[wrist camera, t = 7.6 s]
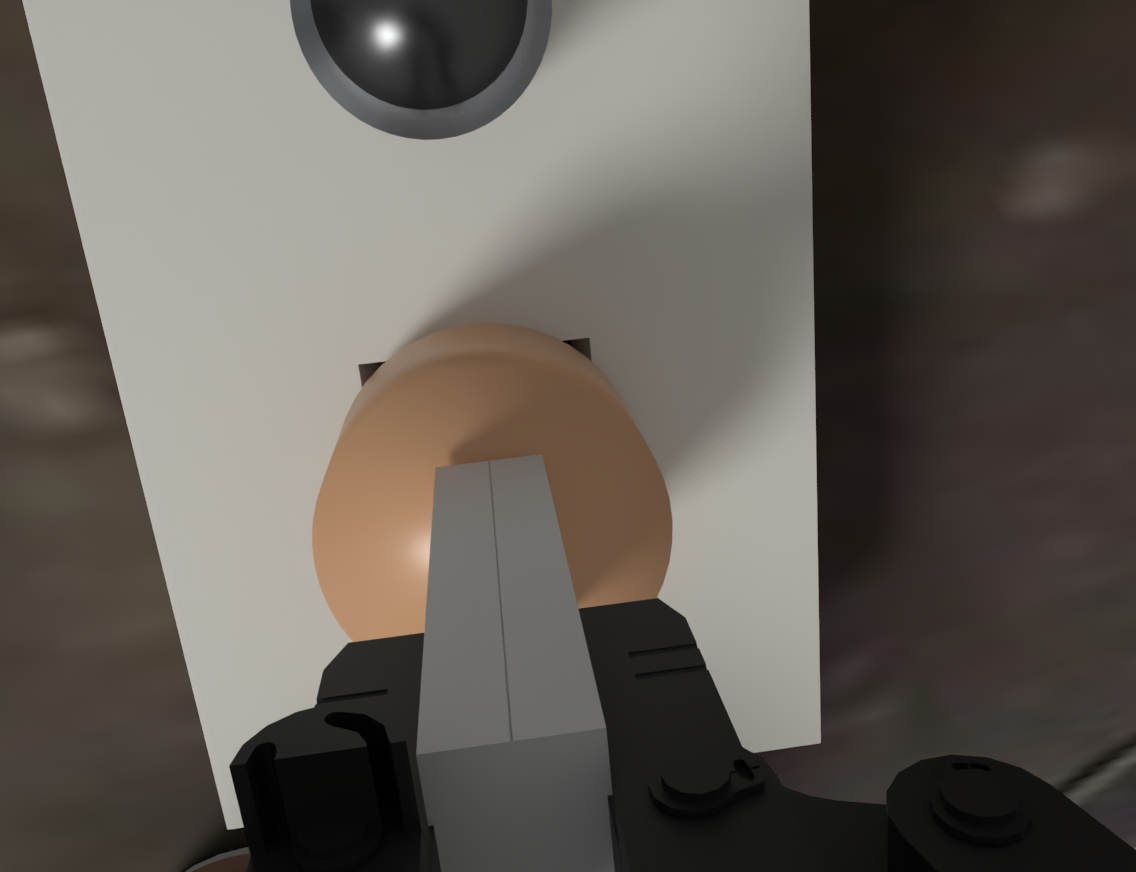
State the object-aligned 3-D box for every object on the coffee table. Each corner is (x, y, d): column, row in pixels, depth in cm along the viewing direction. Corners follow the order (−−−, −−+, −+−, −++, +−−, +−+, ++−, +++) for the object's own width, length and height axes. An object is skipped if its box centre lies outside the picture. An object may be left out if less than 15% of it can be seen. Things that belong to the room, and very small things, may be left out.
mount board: (264, 713, 24) (227, 829, 20) (-103, -934, 15) (-299, -1295, 11) (764, 644, 24) (820, 743, 21) (707, -957, 15) (788, -1302, 12)
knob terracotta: (379, 534, 22) (344, 721, 15) (339, 297, 20) (281, 392, 14) (615, 504, 22) (682, 673, 16) (595, 269, 21) (660, 347, 14)
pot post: (364, 135, 16) (303, 155, 10) (338, -43, 15) (250, -151, 9) (527, 119, 16) (571, 128, 10) (508, -59, 15) (545, -175, 9)
